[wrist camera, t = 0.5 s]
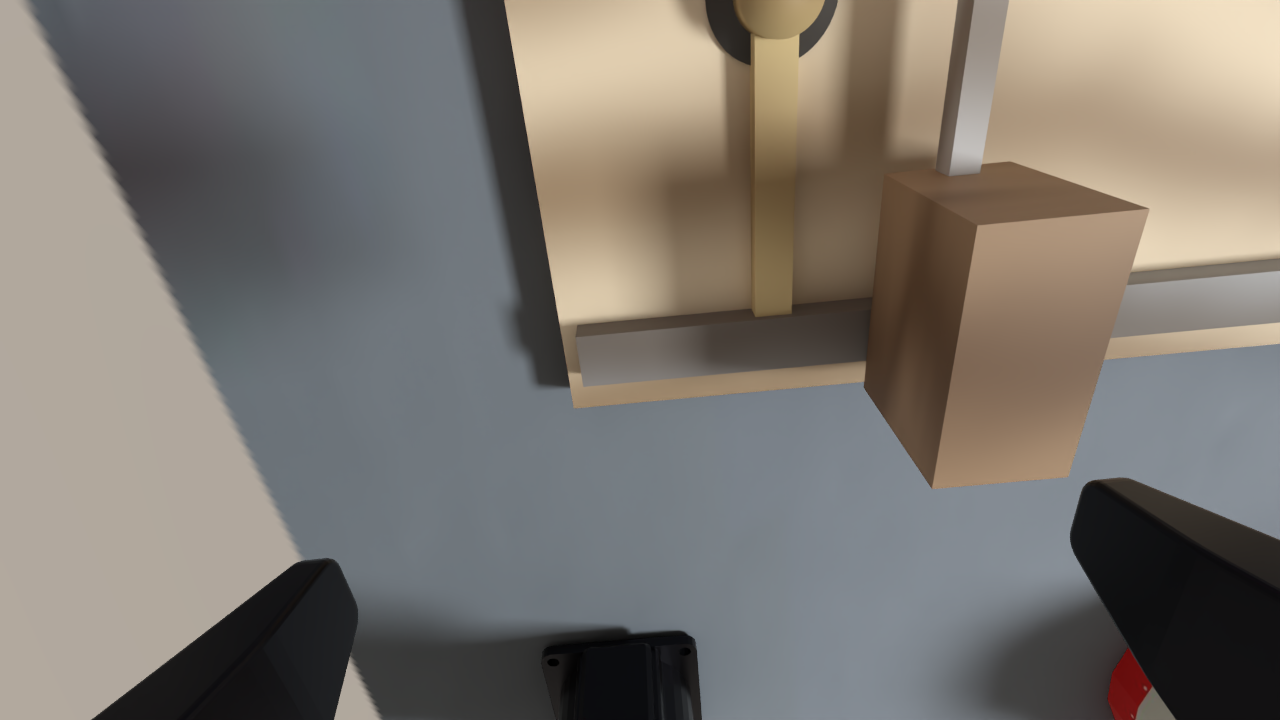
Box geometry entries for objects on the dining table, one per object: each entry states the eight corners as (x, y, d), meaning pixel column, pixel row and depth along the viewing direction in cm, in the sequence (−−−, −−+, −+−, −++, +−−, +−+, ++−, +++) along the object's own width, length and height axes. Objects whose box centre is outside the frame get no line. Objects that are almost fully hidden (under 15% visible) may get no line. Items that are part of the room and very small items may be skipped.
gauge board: (1359, 315, 19) (1449, 350, 17) (576, 388, 20) (571, 430, 18) (1639, -231, 13) (1831, -280, 11) (494, -104, 14) (471, -128, 12)
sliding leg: (960, 369, 18) (1067, 477, 14) (857, 378, 18) (931, 489, 14) (1041, -80, 13) (1255, -137, 8) (897, -65, 13) (1036, -112, 9)
